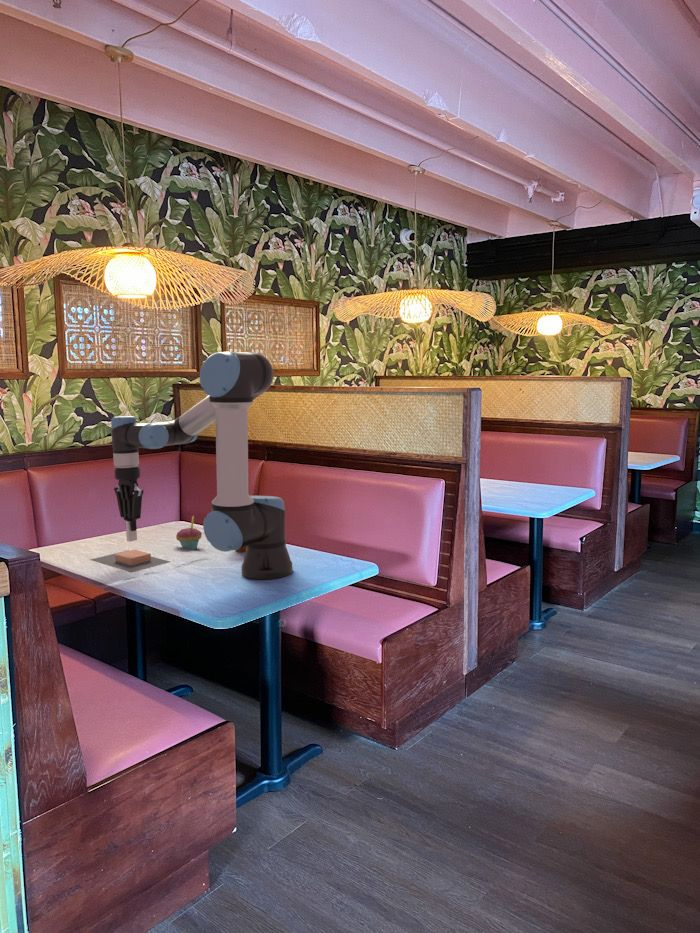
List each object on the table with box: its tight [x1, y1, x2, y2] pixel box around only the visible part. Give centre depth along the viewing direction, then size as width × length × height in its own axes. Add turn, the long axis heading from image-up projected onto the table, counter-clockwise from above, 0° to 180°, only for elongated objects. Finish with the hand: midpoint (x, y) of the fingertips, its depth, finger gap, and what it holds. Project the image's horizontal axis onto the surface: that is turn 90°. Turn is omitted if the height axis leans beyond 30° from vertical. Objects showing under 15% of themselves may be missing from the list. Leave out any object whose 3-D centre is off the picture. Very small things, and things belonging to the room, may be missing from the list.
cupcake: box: [175, 513, 202, 551], centre depth 235 cm, size 9×8×12 cm
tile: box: [114, 549, 152, 566], centre depth 217 cm, size 2×7×9 cm
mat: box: [89, 550, 171, 573], centre depth 218 cm, size 24×14×1 cm, turn 50°
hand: (132, 540), depth 216 cm, fingers closed
